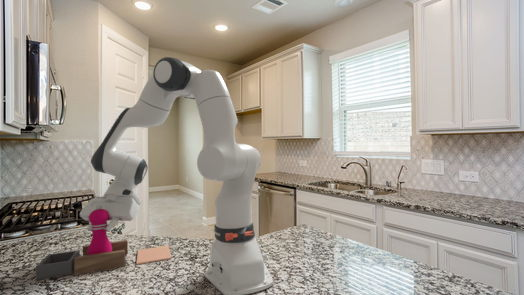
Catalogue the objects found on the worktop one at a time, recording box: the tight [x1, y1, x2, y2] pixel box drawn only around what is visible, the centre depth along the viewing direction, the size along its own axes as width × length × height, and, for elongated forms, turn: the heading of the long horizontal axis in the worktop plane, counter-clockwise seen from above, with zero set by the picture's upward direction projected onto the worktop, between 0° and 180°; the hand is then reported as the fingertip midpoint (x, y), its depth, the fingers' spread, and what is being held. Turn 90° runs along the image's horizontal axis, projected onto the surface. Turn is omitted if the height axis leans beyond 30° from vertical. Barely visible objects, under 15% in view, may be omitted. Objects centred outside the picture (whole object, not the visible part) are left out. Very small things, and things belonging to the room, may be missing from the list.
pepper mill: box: [88, 205, 112, 255], centre depth 94 cm, size 7×7×20 cm
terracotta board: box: [135, 245, 172, 266], centre depth 101 cm, size 14×11×1 cm
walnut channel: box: [74, 239, 129, 275], centre depth 95 cm, size 13×14×5 cm
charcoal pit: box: [35, 249, 81, 281], centre depth 90 cm, size 11×9×4 cm
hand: (98, 230), depth 94 cm, fingers closed on pepper mill, 5 cm apart
